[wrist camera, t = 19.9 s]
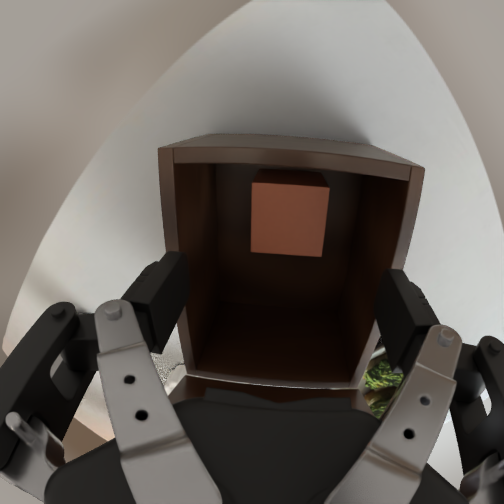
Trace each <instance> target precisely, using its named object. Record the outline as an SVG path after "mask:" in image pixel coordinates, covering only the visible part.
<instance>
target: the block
mask: <svg viewBox="0 0 504 504" xmlns="http://www.w3.org/2000/svg"><path fill="white" fill-rule="evenodd" d="M329 191H330V188H329V186H328V184H327V182H326V180H325V179H324V177H323V175H322V173H319V172H307V171H294V170H278V169H259V170H258V172H257V174H256V176H255V178H254V180H253V181H252V192H251V250H250V251H251V252H258V253H272V254H286V255H300V256H315V257H321V256H322V250H323V242H324V235H325V227H326V219H327V210H328V201H329Z"/></svg>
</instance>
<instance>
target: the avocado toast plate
mask: <svg viewBox="0 0 504 504" xmlns="http://www.w3.org/2000/svg"><path fill="white" fill-rule="evenodd" d="M403 377H404V375H403V373H392V372H391V368H390V364H389V361H388V357H387V354H386V351H385V347H384V344H383V341H382V342H381V343H379V344H377V345H376V347H375V349H374V352H373V354H372V357H371V359H370V361H369V363H368V366H367V368H366V370H365V372H364V375H363V377H362V379H361V381H360V383H359V385H358V387H357V388H329V389H359V390H360V392H361V393H362V395H363V397H364V399H365V400H366V402H367V404H368V406H369V407H370V409H371V411H372V413H373V414H374V416H375V417H377V418H378V419H379V418H380V416H381V415H382V413H383V411H384V410H385V408H386V407H387V405H388V403H389V402H390V400H391V398H392V396H393V395H394V393H395V391H396V389H397V388H398V386H399V384H400V382H401V381H402V379H403Z"/></svg>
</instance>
